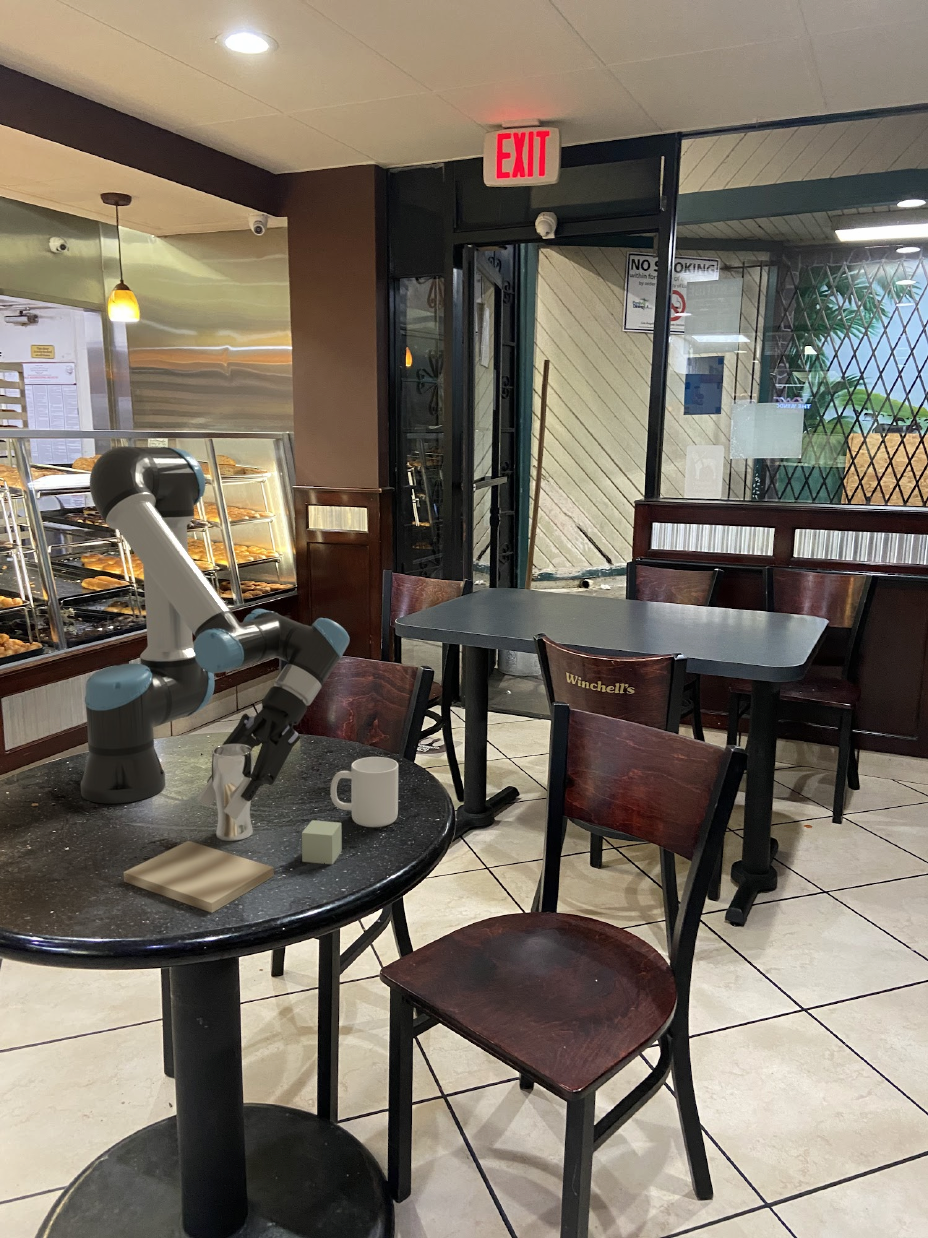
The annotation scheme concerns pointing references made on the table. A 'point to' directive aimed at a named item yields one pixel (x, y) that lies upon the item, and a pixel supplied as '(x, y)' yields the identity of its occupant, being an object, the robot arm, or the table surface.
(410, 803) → the table surface
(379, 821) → the cup
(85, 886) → the table surface
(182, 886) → the board
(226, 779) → the beer glass
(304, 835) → the sage block
